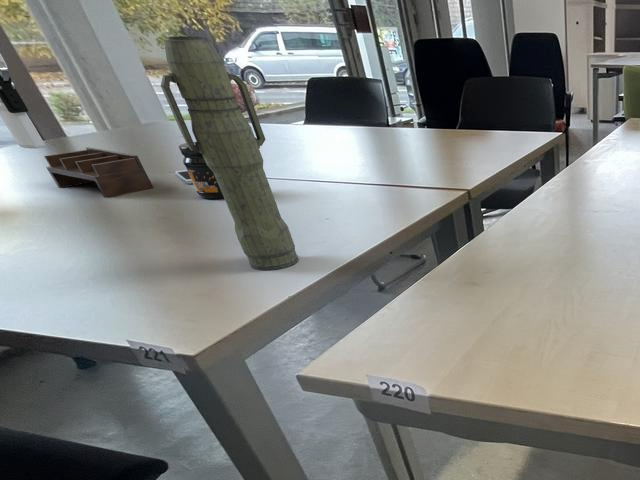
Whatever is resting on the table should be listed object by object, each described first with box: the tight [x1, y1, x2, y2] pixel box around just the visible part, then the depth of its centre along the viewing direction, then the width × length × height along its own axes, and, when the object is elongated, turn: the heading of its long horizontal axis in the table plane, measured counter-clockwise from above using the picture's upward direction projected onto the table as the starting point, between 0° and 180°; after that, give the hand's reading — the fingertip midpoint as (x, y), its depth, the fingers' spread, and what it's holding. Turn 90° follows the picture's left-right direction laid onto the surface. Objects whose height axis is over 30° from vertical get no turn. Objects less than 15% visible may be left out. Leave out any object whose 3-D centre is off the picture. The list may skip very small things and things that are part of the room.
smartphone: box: [174, 169, 193, 185], centre depth 151 cm, size 7×16×1 cm, turn 43°
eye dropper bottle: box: [0, 98, 47, 150], centre depth 109 cm, size 4×6×12 cm
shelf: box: [44, 146, 154, 198], centre depth 138 cm, size 12×22×8 cm, turn 65°
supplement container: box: [178, 141, 224, 200], centre depth 134 cm, size 10×10×12 cm
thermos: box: [160, 35, 300, 271], centre depth 90 cm, size 9×12×35 cm
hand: (10, 110), depth 109 cm, fingers closed on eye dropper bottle, 5 cm apart
